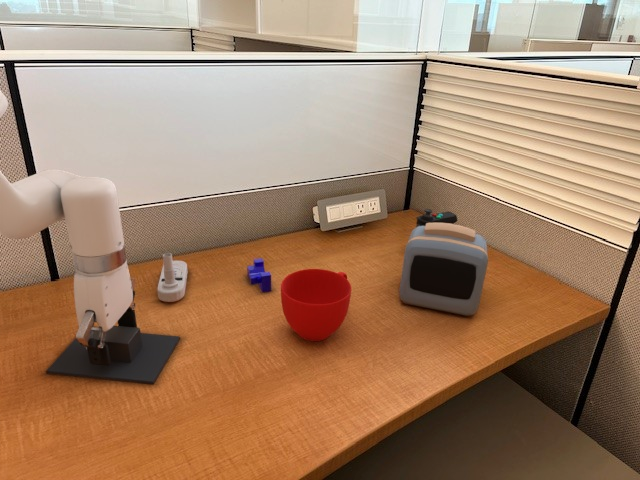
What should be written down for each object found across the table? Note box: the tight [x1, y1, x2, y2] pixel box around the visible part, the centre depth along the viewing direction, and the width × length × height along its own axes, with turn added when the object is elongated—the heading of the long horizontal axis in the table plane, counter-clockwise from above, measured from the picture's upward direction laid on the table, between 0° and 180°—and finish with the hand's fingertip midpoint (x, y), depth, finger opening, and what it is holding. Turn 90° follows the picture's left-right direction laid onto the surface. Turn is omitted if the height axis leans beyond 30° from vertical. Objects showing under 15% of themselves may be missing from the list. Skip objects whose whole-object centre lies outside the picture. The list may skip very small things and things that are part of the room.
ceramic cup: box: [280, 268, 352, 342], centre depth 91 cm, size 13×17×10 cm
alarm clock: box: [398, 223, 489, 317], centre depth 103 cm, size 16×16×16 cm
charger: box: [86, 325, 142, 363], centre depth 82 cm, size 8×4×4 cm, turn 85°
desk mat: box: [45, 331, 181, 385], centre depth 83 cm, size 18×12×1 cm, turn 85°
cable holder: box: [246, 258, 272, 293], centre depth 106 cm, size 8×4×4 cm, turn 20°
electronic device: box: [156, 252, 189, 303], centre depth 103 cm, size 5×10×15 cm
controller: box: [415, 208, 458, 227], centre depth 128 cm, size 4×12×10 cm, turn 118°
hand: (115, 345), depth 82 cm, fingers open, 9 cm apart
